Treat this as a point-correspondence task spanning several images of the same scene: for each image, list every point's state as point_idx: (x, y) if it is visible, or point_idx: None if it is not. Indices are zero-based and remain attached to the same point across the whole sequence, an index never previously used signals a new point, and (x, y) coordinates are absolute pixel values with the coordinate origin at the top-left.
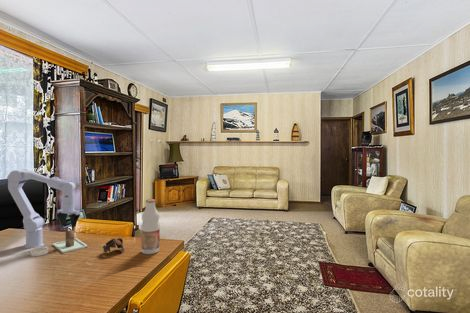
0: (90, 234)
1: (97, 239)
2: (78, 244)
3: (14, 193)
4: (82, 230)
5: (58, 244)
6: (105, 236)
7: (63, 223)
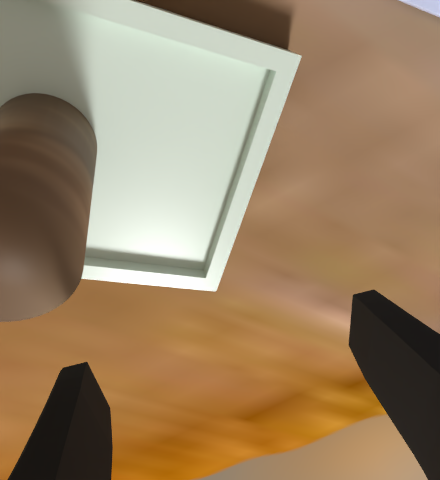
0: (257, 392)
1: None
2: None
3: None
4: None
5: (227, 93)
6: None
7: (377, 351)
